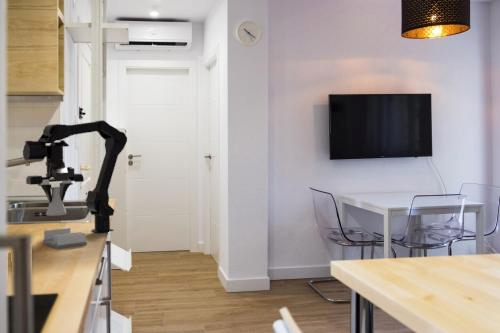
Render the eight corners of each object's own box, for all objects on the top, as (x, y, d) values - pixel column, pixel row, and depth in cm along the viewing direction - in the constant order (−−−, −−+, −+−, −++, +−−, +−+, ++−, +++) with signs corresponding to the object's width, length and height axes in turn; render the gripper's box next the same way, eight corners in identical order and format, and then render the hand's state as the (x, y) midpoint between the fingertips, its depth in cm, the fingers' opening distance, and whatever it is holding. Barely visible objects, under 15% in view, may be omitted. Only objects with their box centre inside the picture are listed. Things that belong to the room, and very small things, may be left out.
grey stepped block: (42, 242, 182) (42, 230, 182) (71, 238, 188) (71, 227, 188) (56, 248, 171) (56, 236, 171) (86, 244, 178) (86, 232, 177)
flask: (70, 213, 194) (69, 186, 194) (61, 216, 187) (60, 188, 186) (51, 213, 195) (50, 186, 194) (41, 216, 188) (41, 188, 187)
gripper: (34, 160, 178) (36, 207, 179) (88, 159, 189) (90, 202, 190) (25, 160, 186) (26, 204, 187) (77, 158, 198) (78, 200, 199)
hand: (56, 202), depth 191 cm, fingers closed on flask, 3 cm apart
